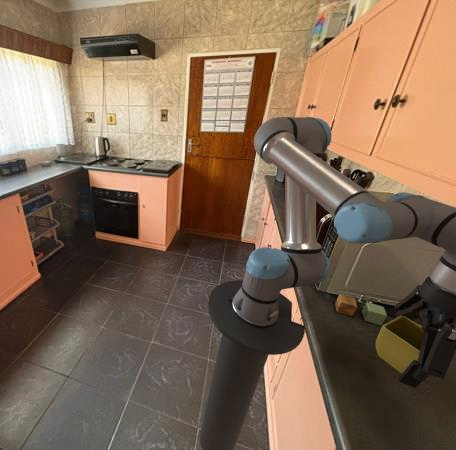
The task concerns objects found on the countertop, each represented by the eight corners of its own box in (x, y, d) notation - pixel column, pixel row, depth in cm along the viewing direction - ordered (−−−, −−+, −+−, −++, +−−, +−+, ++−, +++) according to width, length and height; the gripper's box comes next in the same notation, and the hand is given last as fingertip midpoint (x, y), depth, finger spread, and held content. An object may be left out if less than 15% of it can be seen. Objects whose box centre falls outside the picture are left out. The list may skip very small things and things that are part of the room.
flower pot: (384, 339, 62) (403, 314, 58) (429, 371, 55) (454, 345, 51) (363, 351, 59) (381, 325, 54) (408, 387, 52) (432, 360, 47)
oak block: (336, 311, 86) (341, 302, 84) (335, 303, 90) (339, 293, 88) (351, 316, 84) (357, 306, 82) (349, 307, 88) (354, 298, 86)
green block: (364, 320, 83) (370, 310, 81) (361, 311, 87) (367, 302, 85) (381, 325, 81) (387, 316, 79) (377, 316, 85) (383, 306, 83)
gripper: (531, 345, 35) (443, 422, 46) (451, 260, 54) (401, 327, 64) (460, 324, 38) (392, 400, 49) (407, 250, 57) (366, 316, 67)
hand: (397, 359), depth 56 cm, fingers closed on flower pot, 11 cm apart
